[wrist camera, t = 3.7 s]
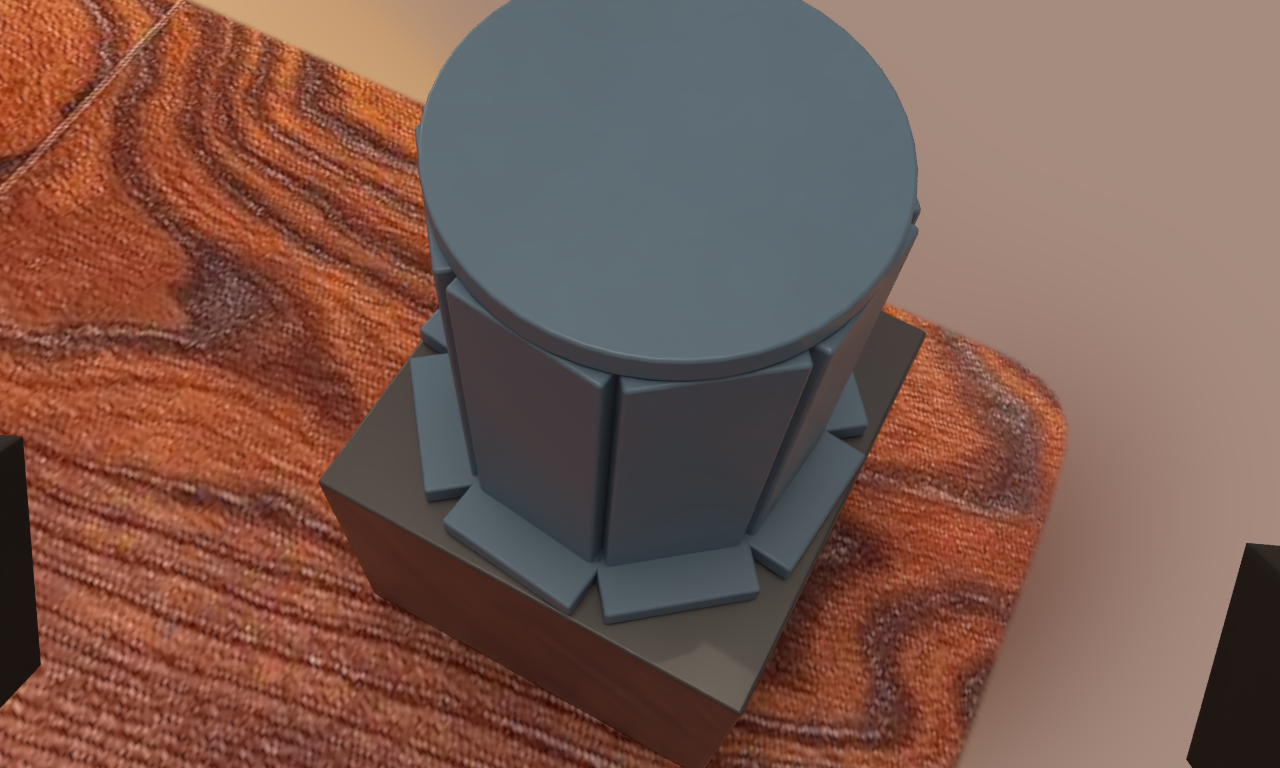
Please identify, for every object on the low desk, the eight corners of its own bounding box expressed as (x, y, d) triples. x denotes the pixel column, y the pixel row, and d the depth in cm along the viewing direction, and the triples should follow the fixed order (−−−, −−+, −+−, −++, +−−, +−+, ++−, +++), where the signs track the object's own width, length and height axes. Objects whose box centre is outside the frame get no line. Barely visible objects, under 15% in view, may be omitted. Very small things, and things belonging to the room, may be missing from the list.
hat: (905, 573, 24) (1077, 375, 16) (444, 652, 23) (377, 480, 15) (793, 201, 28) (883, -104, 20) (398, 250, 27) (327, -56, 19)
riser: (851, 466, 34) (928, 331, 27) (699, 777, 29) (741, 716, 22) (557, 318, 35) (555, 155, 28) (373, 592, 31) (316, 481, 24)
